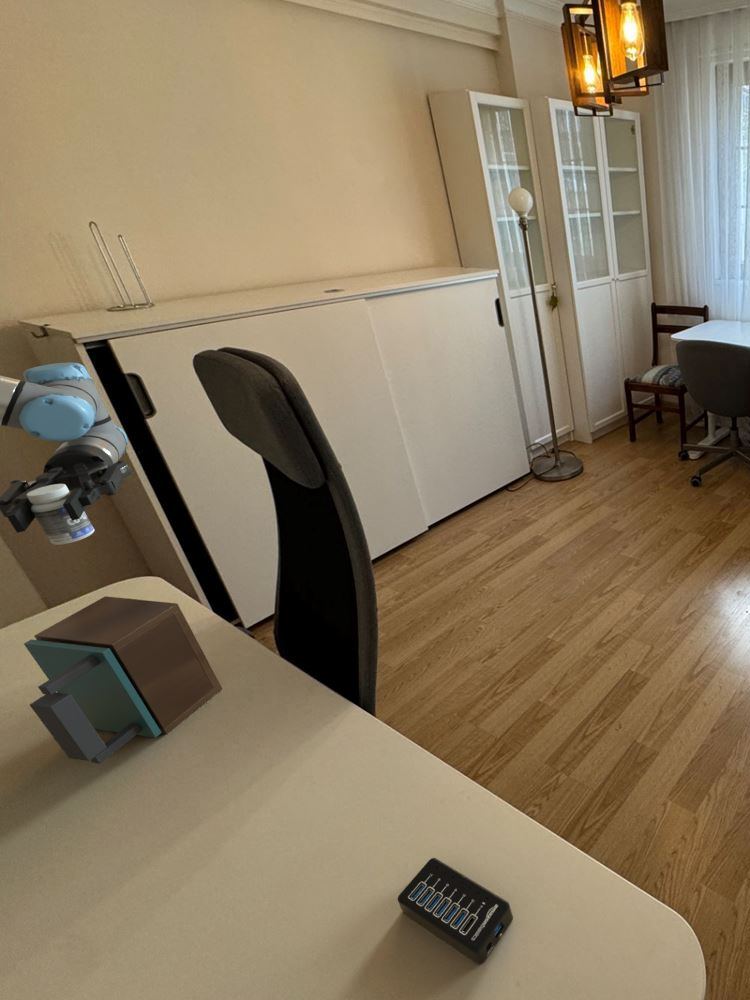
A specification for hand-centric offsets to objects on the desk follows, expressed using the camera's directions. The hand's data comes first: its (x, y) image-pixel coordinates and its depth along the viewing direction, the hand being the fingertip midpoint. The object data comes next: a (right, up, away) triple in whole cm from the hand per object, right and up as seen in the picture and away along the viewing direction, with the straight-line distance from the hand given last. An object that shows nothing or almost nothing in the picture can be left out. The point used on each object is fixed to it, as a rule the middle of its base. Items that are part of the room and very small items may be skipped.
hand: (44, 517), depth 80 cm
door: (+15, -30, -7) cm, 34 cm away
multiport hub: (+71, -38, -24) cm, 84 cm away
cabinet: (+17, -27, 0) cm, 32 cm away
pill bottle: (-3, -4, +6) cm, 8 cm away
